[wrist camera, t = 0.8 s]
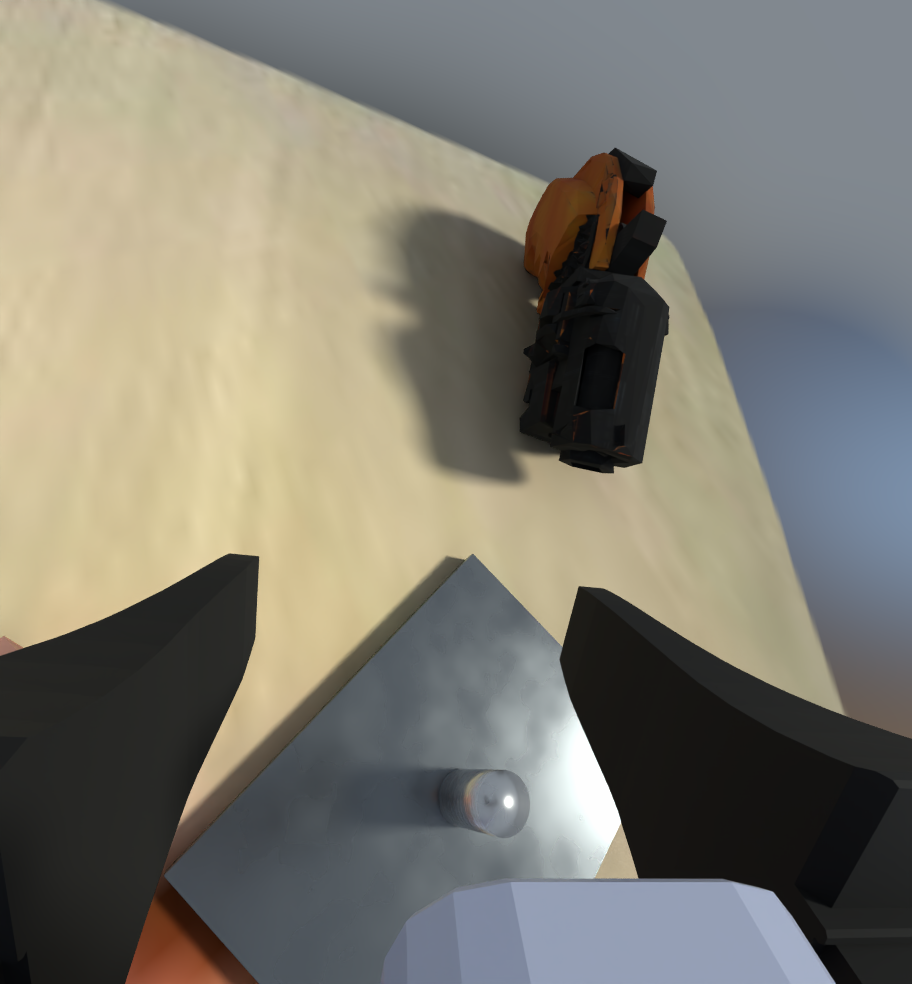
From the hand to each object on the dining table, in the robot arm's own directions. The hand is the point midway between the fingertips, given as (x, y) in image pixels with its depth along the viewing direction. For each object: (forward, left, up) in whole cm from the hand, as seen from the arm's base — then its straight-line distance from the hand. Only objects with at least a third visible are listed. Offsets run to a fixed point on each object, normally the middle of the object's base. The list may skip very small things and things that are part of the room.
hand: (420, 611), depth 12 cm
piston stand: (+1, -8, -14) cm, 16 cm away
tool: (+27, +5, -15) cm, 31 cm away
